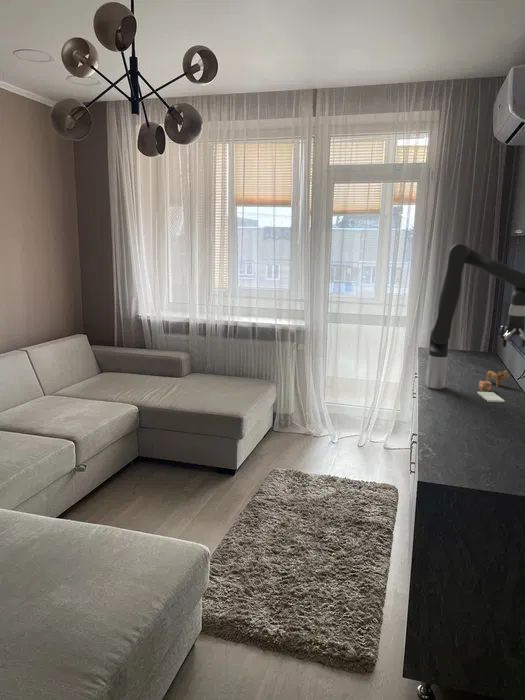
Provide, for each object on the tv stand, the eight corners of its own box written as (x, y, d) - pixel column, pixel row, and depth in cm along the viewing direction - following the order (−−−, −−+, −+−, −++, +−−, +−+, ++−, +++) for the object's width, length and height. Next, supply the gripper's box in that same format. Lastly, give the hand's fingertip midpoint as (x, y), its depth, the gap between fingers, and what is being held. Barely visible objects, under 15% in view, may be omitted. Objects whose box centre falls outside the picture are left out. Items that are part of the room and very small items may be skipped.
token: (481, 391, 263) (482, 383, 262) (478, 388, 268) (479, 380, 267) (490, 391, 263) (491, 383, 262) (487, 389, 268) (488, 381, 267)
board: (487, 401, 246) (488, 400, 246) (477, 393, 260) (477, 391, 260) (504, 402, 246) (504, 400, 246) (492, 393, 259) (493, 392, 259)
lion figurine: (509, 386, 273) (511, 370, 271) (503, 388, 270) (505, 372, 268) (484, 380, 284) (486, 364, 282) (478, 381, 281) (480, 366, 280)
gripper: (505, 315, 240) (501, 348, 243) (536, 315, 239) (531, 349, 243) (499, 312, 247) (495, 345, 250) (528, 313, 247) (524, 345, 250)
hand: (513, 347), depth 247 cm, fingers open, 8 cm apart
